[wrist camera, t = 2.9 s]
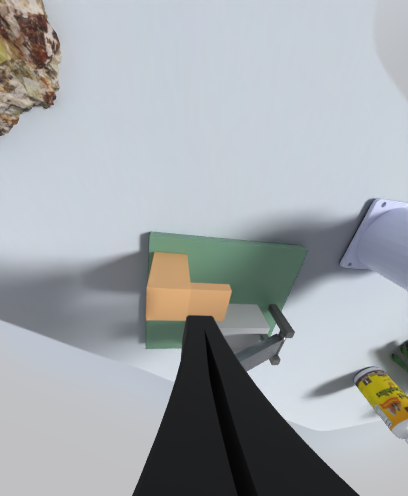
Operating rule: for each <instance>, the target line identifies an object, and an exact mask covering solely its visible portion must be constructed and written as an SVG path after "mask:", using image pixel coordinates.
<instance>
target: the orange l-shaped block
mask: <svg viewBox="0 0 408 496" xmlns="http://www.w3.org/2000/svg"><path fill="white" fill-rule="evenodd" d="M231 293H232V290H231V287H230V285H229V284H212V283H191V282H190V275H189V266H188V257H187V254H177V253H164V252H154V257H153V261H152V266H151V270H150V275H149V280H148V284H147V295H146V320H168V321H186V317H187V316H188V315H202V316H213V317H214V319H215V321H224V318H225V315H226V311H227V307H228V304H229V300H230V296H231Z"/></svg>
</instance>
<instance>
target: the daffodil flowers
mask: <svg viewBox="0 0 408 496" xmlns="http://www.w3.org/2000/svg"><path fill="white" fill-rule="evenodd" d="M401 352H402V353H403V354H404V355H405V356H406V357H407V358H408V349H407V348H406V347H405V346H404V345H403V346H402V348H401ZM392 359H393V361H394V362H396V363H397V364H398V365H399V366H401V367H402V368H403V369H404V370H406V371H407V372H408V365H407V364H405V363H404V362H403V361H402V360H400V359H399V358H398V357H397V356H395V355H394V354H392Z"/></svg>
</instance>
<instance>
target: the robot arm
mask: <svg viewBox="0 0 408 496" xmlns="http://www.w3.org/2000/svg"><path fill="white" fill-rule="evenodd" d="M340 266H342V267H344V268H356V269H369V270H373V271H375V272H377V273H378V274H380V275H382V276H383V277H385V278H387V279H388V280H390V281H392V282H394V283H395V284H397V285H399V286H400V287H402V288H404V289H405V290H407V291H408V203H405V202H399V201H393V200H386V199H380V198H377V199H375V200H374V201H373V203H372V204H371V206H370V208H369V210H368V212H367V214H366V216H365V217H364V219H363V221H362V223H361V225H360V227H359V229H358V230H357V232H356V234H355V236H354V238H353V240H352V242H351V243H350V245H349V247H348V249H347V251H346V253H345V255H344V256H343V258H342V260H341V262H340ZM132 496H359V495H358V494H357V493H356V492H355V491H354V490H353V489H352V488H351V487H350V486H349V485H348V484H347V483H346V482H345V481H344V480H343V479H342V478H340V477H339V476H338V475H337V474H336V473H335V472H334V471H333V470H332V469H331V468H330V467H329V466H328V465H327V464H326V463H325V462H324V461H323V460H322V459H321V458H320V457H319V456H318V455H317V454H316V453H315V452H314V451H313V450H312V449H311V448H310V447H309V446H308V445H307V444H306V443H305V442H304V440H303V439H302V438H301V437H300V436H299V435H298V434H297V433H296V432H295V430H294V429H293V428H292V427H291V426H290V425H289V424H288V423H287V422H286V421H285V419H284V418H283V417H282V416H281V415H280V414H279V413H278V412H277V410H276V409H275V408H274V407H273V406H272V404H271V403H270V402H269V401H268V400H267V398H266V397H265V396H264V395H263V393H262V392H261V391H260V389H259V388H258V387H257V386H256V384H255V383H254V382H253V380H252V379H251V377H250V376H249V375H248V373H247V372H246V370H245V369H244V368H243V366H242V365H241V363H240V362H239V360H238V359H237V357H236V356H235V354H234V352H233V351H232V349H231V348H230V346H229V344H228V343H227V341H226V339H225V338H224V336H223V334H222V332H221V331H220V329H219V327H218V325H217V323H216V321H215V319H214V317H213V316H202V315H188V316H187V317H186V322H185V327H184V333H183V339H182V352H181V362H180V366H179V369H178V373H177V377H176V380H175V384H174V387H173V390H172V393H171V396H170V399H169V402H168V405H167V408H166V411H165V413H164V416H163V419H162V422H161V425H160V427H159V430H158V433H157V435H156V438H155V441H154V443H153V446H152V448H151V451H150V453H149V456H148V458H147V461H146V463H145V466H144V468H143V471H142V473H141V476H140V479H139V481H138V483H137V485H136V488H135V490H134V493H133V495H132Z"/></svg>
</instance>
